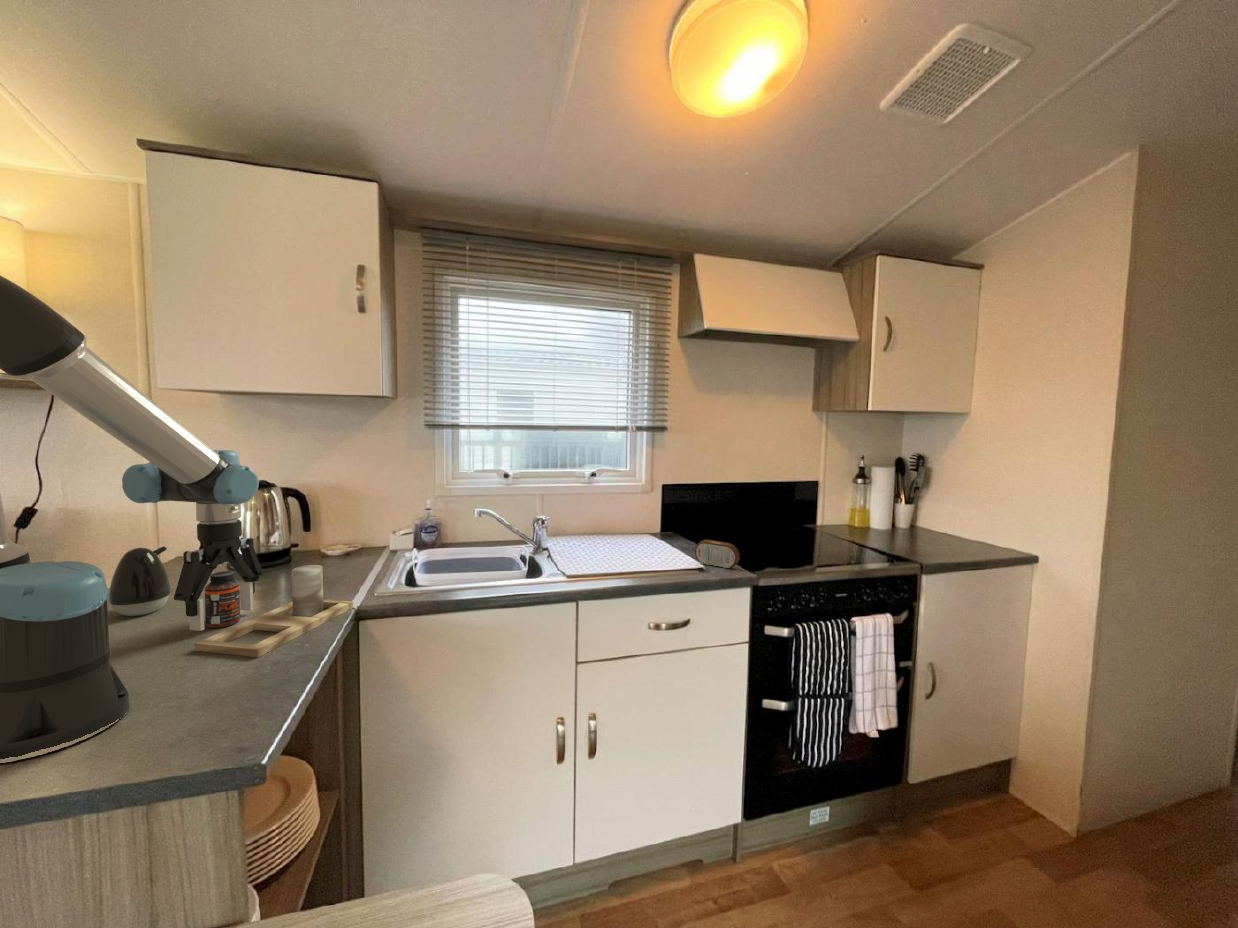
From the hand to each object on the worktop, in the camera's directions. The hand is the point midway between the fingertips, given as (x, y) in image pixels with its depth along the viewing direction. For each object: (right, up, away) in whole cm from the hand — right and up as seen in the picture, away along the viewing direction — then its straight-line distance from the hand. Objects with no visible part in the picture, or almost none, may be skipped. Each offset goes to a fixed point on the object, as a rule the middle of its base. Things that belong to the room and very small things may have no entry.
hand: (223, 619), depth 106 cm
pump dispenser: (-24, 0, +6) cm, 24 cm away
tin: (+120, 0, +54) cm, 132 cm away
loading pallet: (+14, -1, -1) cm, 14 cm away
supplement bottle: (0, -1, 0) cm, 1 cm away
